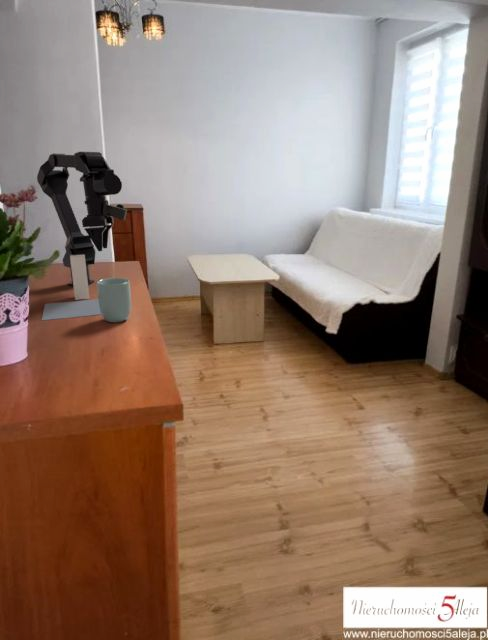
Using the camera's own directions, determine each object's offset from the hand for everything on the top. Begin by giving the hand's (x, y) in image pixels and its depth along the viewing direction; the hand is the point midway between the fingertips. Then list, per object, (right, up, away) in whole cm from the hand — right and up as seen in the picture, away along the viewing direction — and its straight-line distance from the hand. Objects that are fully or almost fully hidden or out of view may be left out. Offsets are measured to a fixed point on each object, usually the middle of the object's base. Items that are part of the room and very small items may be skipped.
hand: (102, 249), depth 139 cm
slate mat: (-1, -18, -14) cm, 23 cm away
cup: (+11, -22, -24) cm, 34 cm away
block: (-5, -15, -3) cm, 16 cm away
